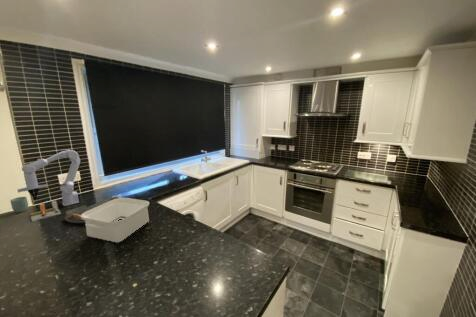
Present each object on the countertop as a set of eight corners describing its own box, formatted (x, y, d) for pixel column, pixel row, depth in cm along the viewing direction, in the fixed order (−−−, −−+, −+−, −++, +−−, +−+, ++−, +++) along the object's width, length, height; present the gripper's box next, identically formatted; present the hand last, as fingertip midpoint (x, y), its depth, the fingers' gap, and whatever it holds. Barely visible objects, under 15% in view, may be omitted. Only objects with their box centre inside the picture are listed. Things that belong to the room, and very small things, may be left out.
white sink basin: (114, 252, 99) (110, 226, 96) (74, 242, 107) (69, 218, 104) (158, 220, 131) (156, 200, 129) (124, 214, 139) (122, 195, 136)
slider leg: (45, 210, 143) (43, 202, 141) (47, 215, 136) (45, 207, 135) (40, 211, 141) (39, 204, 140) (42, 216, 134) (40, 208, 133)
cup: (20, 213, 138) (17, 201, 136) (10, 213, 138) (6, 200, 136) (32, 209, 146) (29, 196, 144) (22, 208, 146) (19, 196, 144)
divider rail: (57, 207, 148) (56, 200, 146) (60, 212, 141) (58, 204, 140) (30, 214, 137) (28, 206, 136) (31, 219, 130) (29, 211, 129)
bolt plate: (59, 210, 144) (58, 209, 144) (60, 213, 139) (60, 212, 139) (31, 217, 133) (30, 216, 133) (31, 221, 128) (31, 220, 128)
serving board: (83, 228, 121) (81, 219, 120) (58, 222, 128) (57, 214, 127) (132, 203, 157) (132, 196, 156) (111, 200, 164) (110, 193, 163)
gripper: (45, 177, 144) (48, 194, 147) (15, 182, 133) (20, 200, 136) (46, 179, 140) (49, 197, 142) (16, 184, 129) (20, 203, 132)
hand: (35, 198), depth 139 cm, fingers closed
